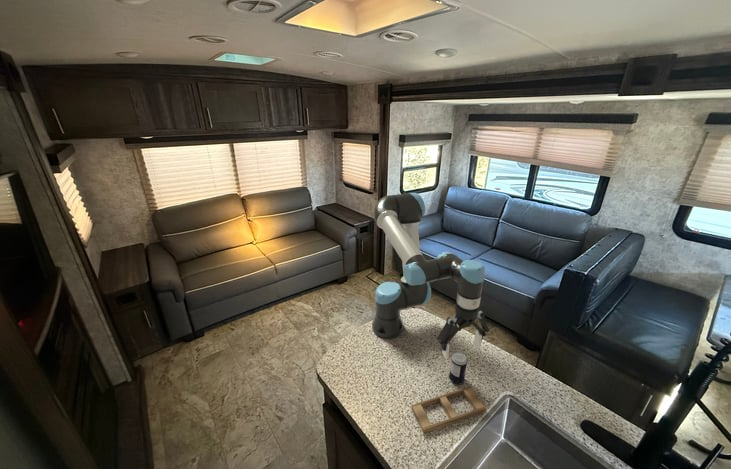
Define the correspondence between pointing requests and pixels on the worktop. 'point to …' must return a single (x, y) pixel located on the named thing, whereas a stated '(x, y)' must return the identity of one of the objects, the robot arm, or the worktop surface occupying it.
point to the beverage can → (458, 368)
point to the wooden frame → (447, 409)
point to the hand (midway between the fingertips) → (461, 351)
